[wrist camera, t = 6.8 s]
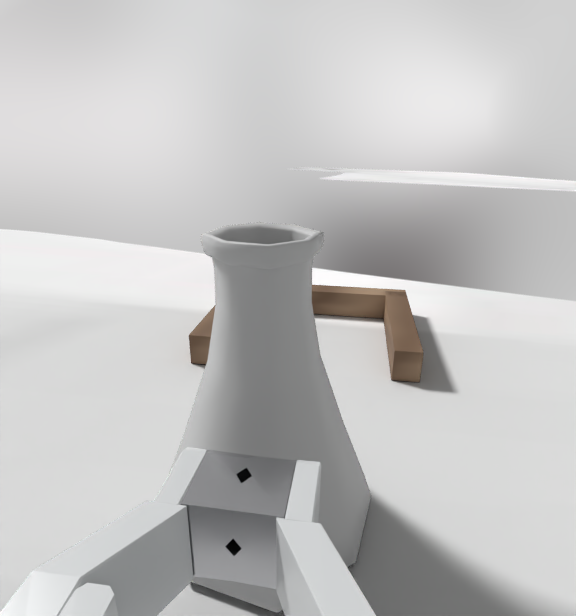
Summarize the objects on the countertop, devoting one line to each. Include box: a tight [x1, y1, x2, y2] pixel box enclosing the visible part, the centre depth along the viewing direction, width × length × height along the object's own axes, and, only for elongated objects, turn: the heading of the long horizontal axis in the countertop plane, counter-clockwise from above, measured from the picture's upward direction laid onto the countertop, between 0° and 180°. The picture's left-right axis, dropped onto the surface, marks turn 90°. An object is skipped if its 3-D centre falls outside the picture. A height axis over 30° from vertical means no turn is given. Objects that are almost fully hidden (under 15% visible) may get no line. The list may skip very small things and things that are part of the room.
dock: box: [189, 285, 423, 382], centre depth 29 cm, size 13×10×2 cm
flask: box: [170, 222, 371, 613], centre depth 14 cm, size 7×7×10 cm
